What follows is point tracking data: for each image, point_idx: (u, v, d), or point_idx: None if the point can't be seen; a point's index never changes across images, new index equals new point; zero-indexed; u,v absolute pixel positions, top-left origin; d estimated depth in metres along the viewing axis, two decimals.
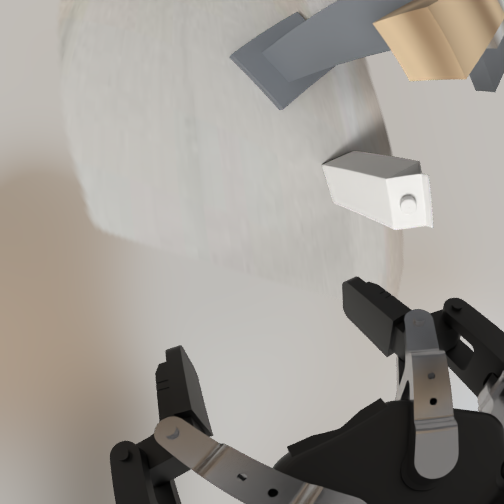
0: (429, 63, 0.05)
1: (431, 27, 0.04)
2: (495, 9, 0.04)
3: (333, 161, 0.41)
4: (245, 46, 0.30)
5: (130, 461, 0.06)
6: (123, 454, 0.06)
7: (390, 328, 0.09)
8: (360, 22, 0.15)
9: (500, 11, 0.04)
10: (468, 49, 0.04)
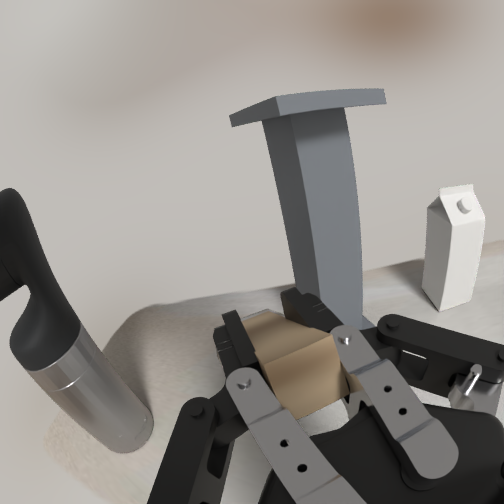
0: (325, 372, 0.08)
1: (285, 365, 0.08)
2: (263, 317, 0.16)
3: (435, 300, 0.36)
4: None
5: (204, 416, 0.07)
6: (196, 410, 0.07)
7: None
8: (332, 206, 0.26)
9: (265, 314, 0.17)
10: (303, 335, 0.09)
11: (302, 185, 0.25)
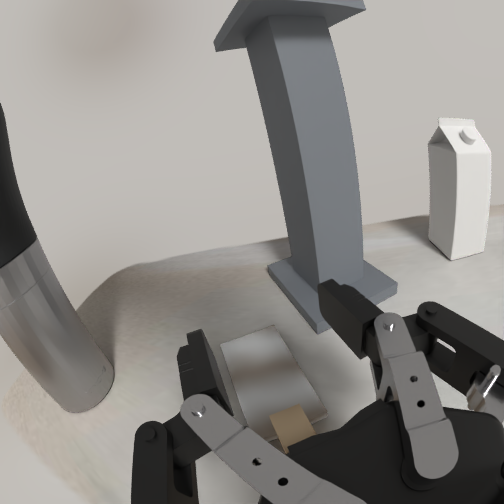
0: None
1: None
2: (300, 426, 0.16)
3: (445, 248, 0.31)
4: (307, 310, 0.28)
5: (157, 440, 0.07)
6: (149, 434, 0.07)
7: (360, 331, 0.10)
8: (318, 106, 0.21)
9: (298, 412, 0.17)
10: None
11: (282, 81, 0.20)
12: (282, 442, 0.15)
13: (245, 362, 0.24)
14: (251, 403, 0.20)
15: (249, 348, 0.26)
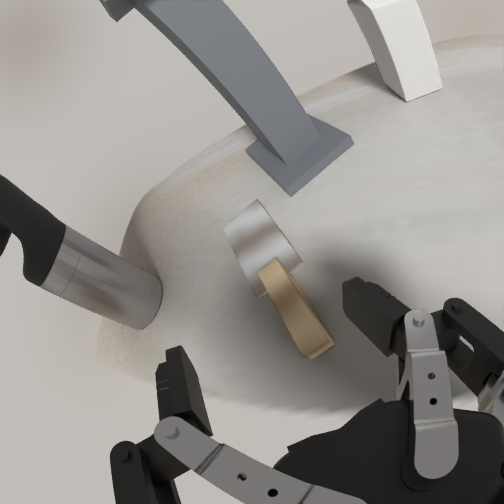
0: (324, 346, 0.22)
1: (309, 352, 0.21)
2: (277, 275, 0.26)
3: (398, 91, 0.29)
4: (278, 179, 0.34)
5: (130, 461, 0.06)
6: (123, 454, 0.06)
7: (390, 328, 0.09)
8: (210, 32, 0.20)
9: (275, 265, 0.27)
10: (313, 331, 0.22)
11: (171, 30, 0.19)
12: (268, 290, 0.26)
13: (241, 236, 0.34)
14: (249, 266, 0.31)
15: (242, 224, 0.35)
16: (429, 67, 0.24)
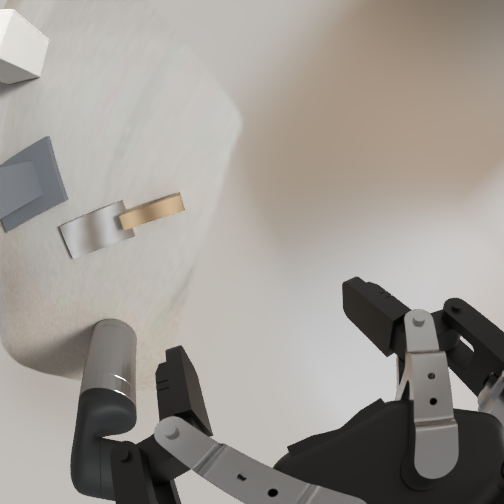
0: None
1: (183, 205, 0.40)
2: (131, 216, 0.38)
3: (29, 77, 0.24)
4: (53, 204, 0.34)
5: (130, 461, 0.06)
6: (123, 454, 0.06)
7: (390, 328, 0.09)
8: None
9: (123, 217, 0.38)
10: (173, 201, 0.39)
11: None
12: (139, 224, 0.39)
13: (86, 242, 0.38)
14: (112, 238, 0.40)
15: (76, 241, 0.38)
16: (38, 40, 0.20)
